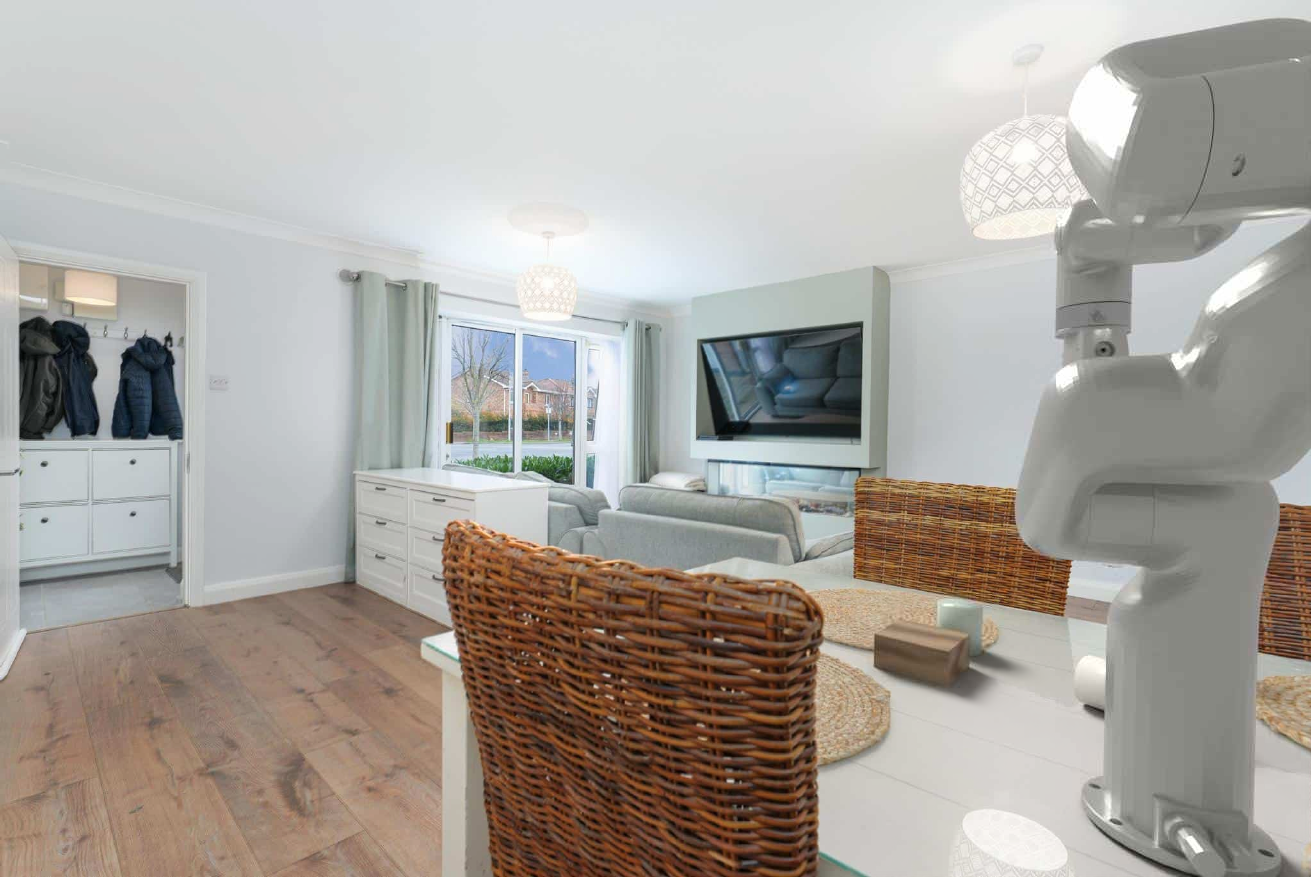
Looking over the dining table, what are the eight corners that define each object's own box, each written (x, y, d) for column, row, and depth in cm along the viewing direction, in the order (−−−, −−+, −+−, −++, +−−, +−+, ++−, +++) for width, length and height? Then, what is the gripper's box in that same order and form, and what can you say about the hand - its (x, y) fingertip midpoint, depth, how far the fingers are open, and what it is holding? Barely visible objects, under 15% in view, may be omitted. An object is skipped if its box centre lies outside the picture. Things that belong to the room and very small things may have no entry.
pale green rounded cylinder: (984, 658, 91) (985, 612, 91) (937, 652, 93) (938, 607, 93) (978, 644, 97) (979, 601, 97) (935, 639, 99) (936, 596, 99)
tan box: (947, 689, 80) (948, 651, 80) (873, 668, 87) (874, 633, 87) (969, 668, 87) (969, 634, 87) (899, 650, 94) (900, 619, 94)
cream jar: (1072, 661, 74) (1159, 687, 66) (1099, 649, 77) (1186, 673, 69) (1074, 710, 74) (1162, 742, 67) (1101, 696, 77) (1188, 726, 69)
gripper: (1159, 307, 64) (1155, 467, 64) (1105, 333, 80) (1102, 462, 80) (1076, 311, 67) (1072, 465, 67) (1040, 336, 83) (1037, 460, 83)
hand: (1089, 463), depth 74 cm, fingers open, 9 cm apart
